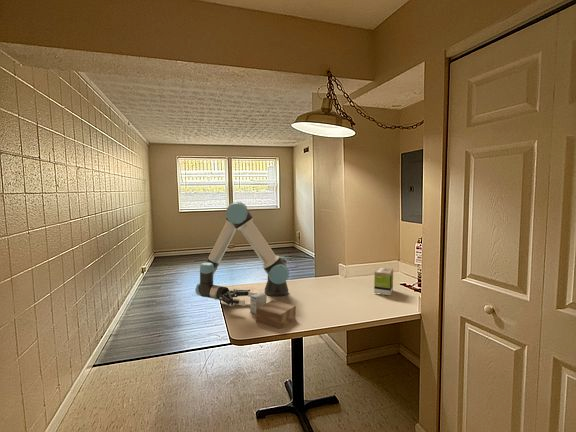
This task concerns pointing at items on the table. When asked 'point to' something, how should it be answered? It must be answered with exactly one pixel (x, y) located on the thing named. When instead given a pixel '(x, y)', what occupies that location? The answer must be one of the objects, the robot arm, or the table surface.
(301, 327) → the table surface
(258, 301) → the medicine box
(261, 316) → the walnut block
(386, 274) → the tea box
